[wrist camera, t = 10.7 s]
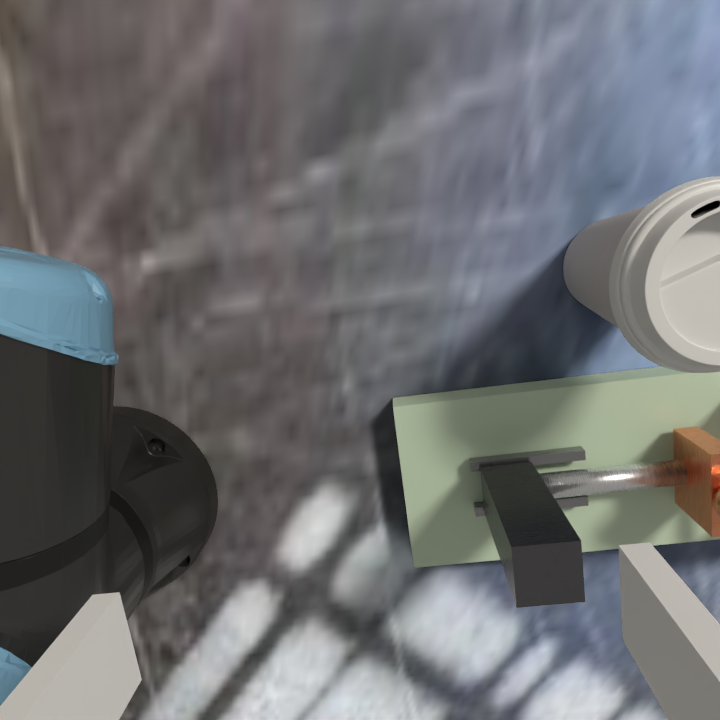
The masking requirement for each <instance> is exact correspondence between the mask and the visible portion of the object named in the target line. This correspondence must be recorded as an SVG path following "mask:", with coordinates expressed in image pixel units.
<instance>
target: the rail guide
mask: <svg viewBox="0 0 720 720" xmlns="http://www.w3.org/2000/svg"><path fill="white" fill-rule="evenodd" d="M581 460H586V454H585V450H584V449H583V448H582V447H581V446H577V447H567V448H558V449H549V450H539V451H530V452H521V453H512V454H502V455H493V456H484V457H475V458H469V465H470V469H471V472H477V471H480V468H482V467H491V466H500V465H510V464H519V463H528V462H532V463H533V465H543V464H553V463H562V462H571V461H581ZM555 500H556V501H557V503H558V505H559V506H560V508H570V507H580V506H588V496H587V495H583V496H573V497H563V498H555ZM473 504H474V512H475V515H476V517H479V516H485V512H484V501H481V502H473Z"/></svg>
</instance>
